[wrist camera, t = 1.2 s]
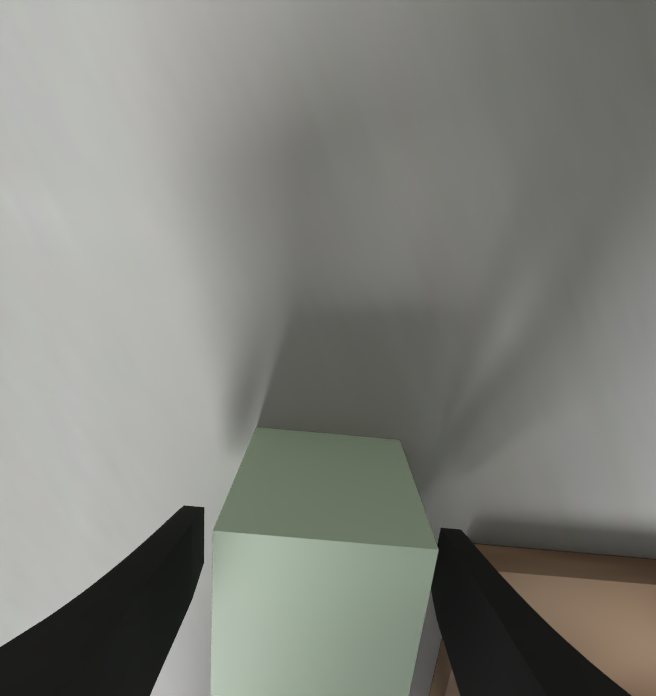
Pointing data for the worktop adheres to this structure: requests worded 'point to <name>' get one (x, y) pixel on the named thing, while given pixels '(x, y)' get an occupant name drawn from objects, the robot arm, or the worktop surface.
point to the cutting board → (583, 610)
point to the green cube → (319, 569)
